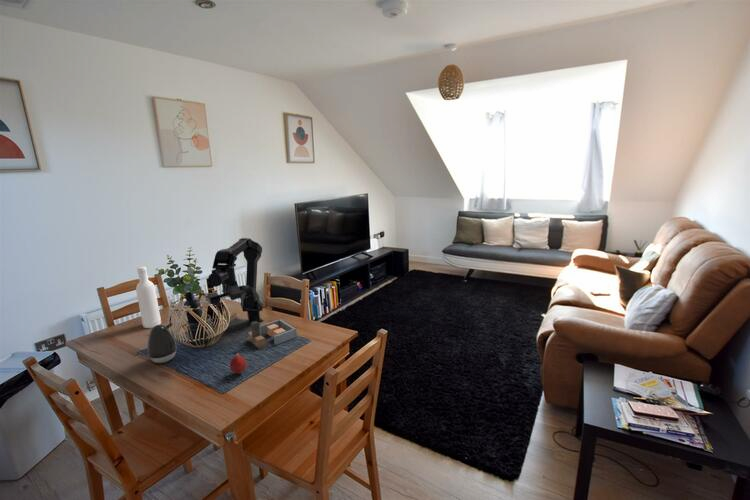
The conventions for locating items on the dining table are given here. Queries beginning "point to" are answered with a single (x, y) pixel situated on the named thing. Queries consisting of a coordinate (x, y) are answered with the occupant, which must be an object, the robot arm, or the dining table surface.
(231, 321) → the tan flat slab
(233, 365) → the onion
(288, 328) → the box
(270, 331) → the block
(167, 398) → the dining table surface
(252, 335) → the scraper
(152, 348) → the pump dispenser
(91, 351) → the dining table surface
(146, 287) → the bottle
